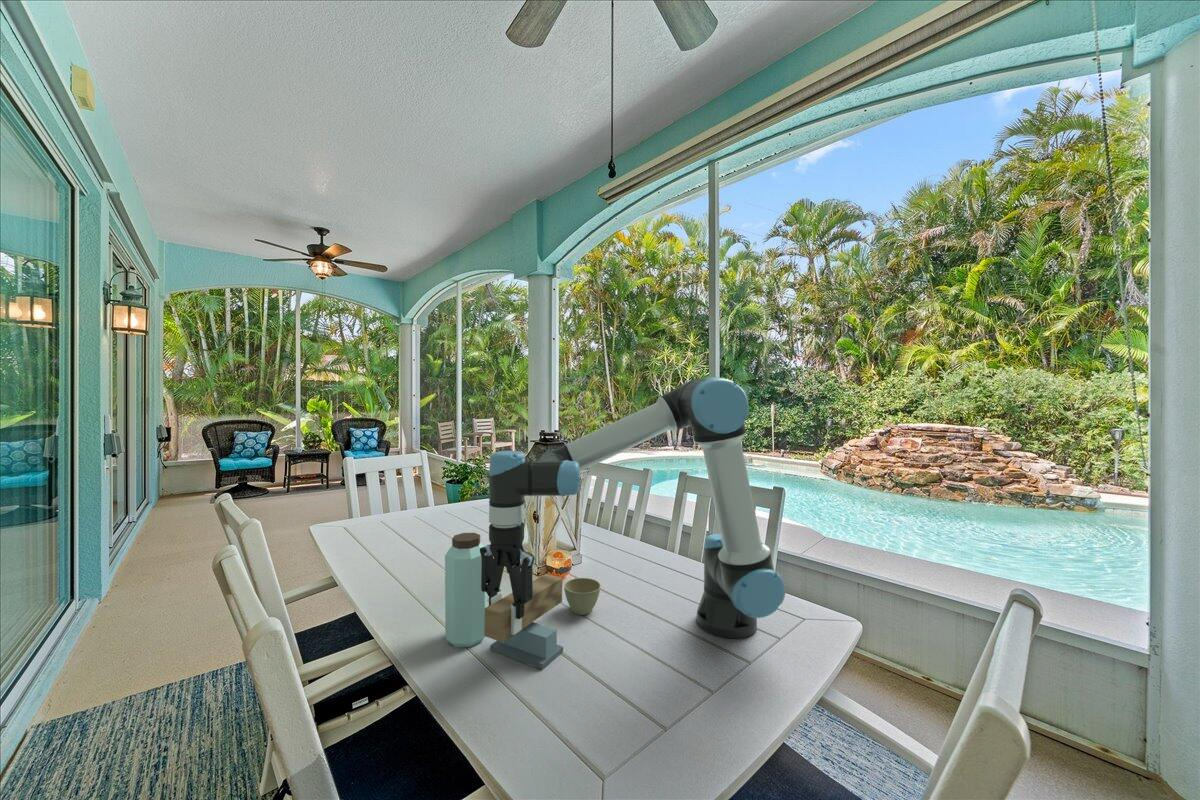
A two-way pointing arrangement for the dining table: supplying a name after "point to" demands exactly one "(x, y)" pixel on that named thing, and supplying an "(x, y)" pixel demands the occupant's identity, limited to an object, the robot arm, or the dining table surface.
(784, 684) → the dining table surface
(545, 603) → the walnut bar
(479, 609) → the water bottle
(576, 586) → the flower pot
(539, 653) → the ridge
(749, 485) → the robot arm
